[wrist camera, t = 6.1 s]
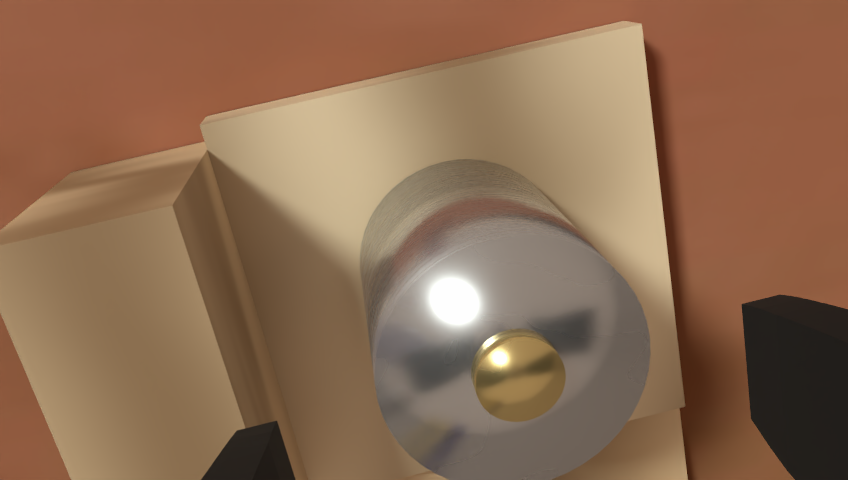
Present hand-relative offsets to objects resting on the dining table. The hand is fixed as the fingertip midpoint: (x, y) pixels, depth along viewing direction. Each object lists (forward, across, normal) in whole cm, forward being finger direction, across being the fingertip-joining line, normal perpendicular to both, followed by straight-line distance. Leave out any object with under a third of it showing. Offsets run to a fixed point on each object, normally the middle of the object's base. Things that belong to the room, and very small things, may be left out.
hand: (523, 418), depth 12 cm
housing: (+6, 0, 0) cm, 6 cm away
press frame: (+7, +1, +4) cm, 8 cm away
